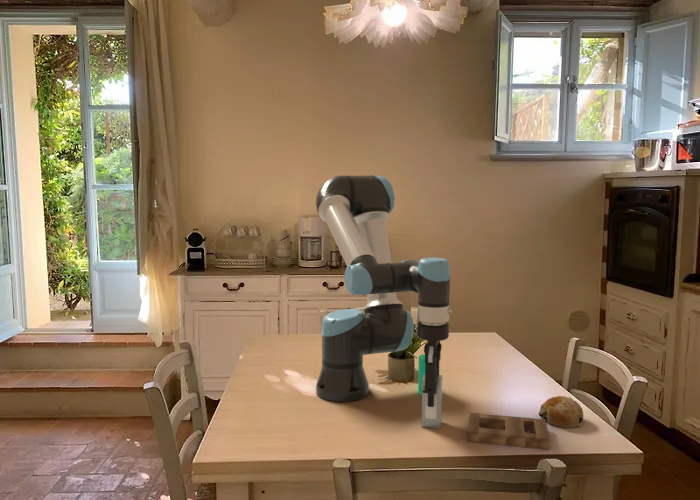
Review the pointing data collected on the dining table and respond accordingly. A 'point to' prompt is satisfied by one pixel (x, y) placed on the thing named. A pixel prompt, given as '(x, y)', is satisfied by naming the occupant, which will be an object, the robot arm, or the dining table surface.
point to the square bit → (437, 422)
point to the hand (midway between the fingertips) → (431, 413)
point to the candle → (421, 372)
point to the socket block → (508, 431)
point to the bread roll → (562, 412)
